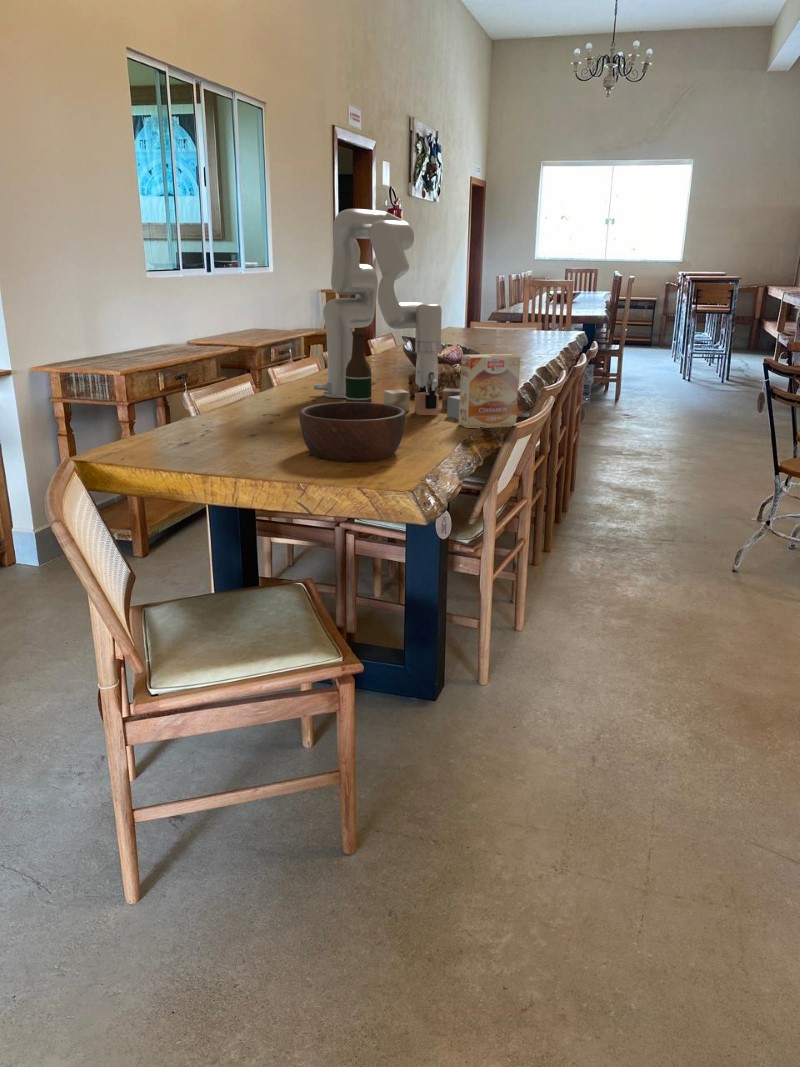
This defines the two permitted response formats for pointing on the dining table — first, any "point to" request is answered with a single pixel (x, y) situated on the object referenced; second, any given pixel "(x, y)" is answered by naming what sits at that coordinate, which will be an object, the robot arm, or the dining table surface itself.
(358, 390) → the beer bottle
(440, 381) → the bread
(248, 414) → the dining table surface
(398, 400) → the beech block
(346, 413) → the wooden bowl
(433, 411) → the terracotta block
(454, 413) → the slate block
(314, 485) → the dining table surface
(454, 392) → the walnut block
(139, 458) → the dining table surface
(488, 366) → the coffeecake box
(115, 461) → the dining table surface
